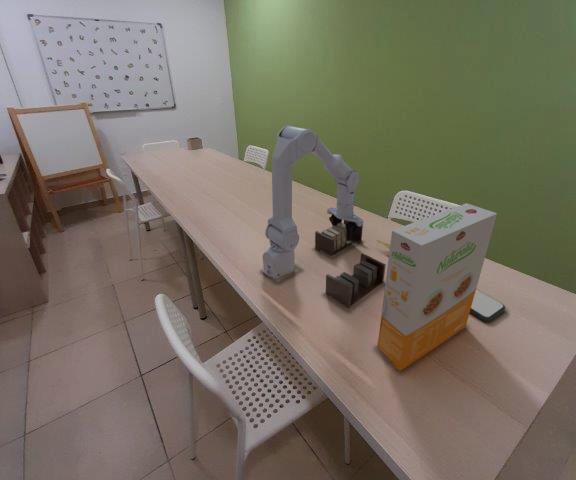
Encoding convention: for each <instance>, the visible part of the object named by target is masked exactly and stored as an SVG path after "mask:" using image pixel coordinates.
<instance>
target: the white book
mask: <svg viewBox="0 0 576 480" xmlns="http://www.w3.org/2000/svg"><path fill="white" fill-rule="evenodd" d="M337 226H338V227H340V228H343V229H345V230H346V227H345V224H344V222H340V223H338V224H337ZM345 243H346V244H348V243H350V241H347V230H346V235H345Z"/></svg>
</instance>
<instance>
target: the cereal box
mask: <svg viewBox="0 0 576 480" xmlns="http://www.w3.org/2000/svg"><path fill="white" fill-rule="evenodd" d="M497 216H498V213H497V212H494V211H492V210H488V209H486V208H482V207H479V206H477V205H473V204H470V203H467V202H465V203H463V204H461V205H457V206H455V207H452V208H449V209H447V210H444V211H441V212H439V213H436V214H433V215H430V216H427V217H425V218H422V219H420V220H417V221H414V222H411V223H409V224H406V225H403V226H400V227H398V228H394V229H392V230H391V236H390V243H389V244H390V249H389V252H388V261H387V268H386V269H387V270H386V276H385V284H384V292H383V300H382V306H381V307H382V309H381V316H380V317H381V318H380V324H379V332H378V339H377V348H378V349H379V350H380V351H381V352H382V353H383V354H385V355H386V356H387V357H388V358H389V359H390V364H391V365H392V366H393V367H394V368H395V369H396V370H397V371H398V372H402V371H403V370H404V369H406V368H407V367H408V366H410V365H411V364H413V363H415V362H416V361H418V360H419V359H420V358H422V357H424V356H425V355H426V354H429V352H431V351H432V350H434V349H435V348H437V347H439V346H440V345H441V344H443V343H444V342H446V341H447V340H448V339H450V338H451V337H453V336H454V335H456V334H458V333H459V332H461V331H462V330H463V329H465V328H466V327H467V323H468V320H469V316H470V314H471V313H470V309H471V306H472V302H473V298H474V295H475V291H476V289H477V287H478V284H479V280H480V277H481V273H482V270H483V266H484V262H485V258H486V255H487V252H488V248H489V245H490V241H491V239H492V234H493V231H494V228H495V223H496V220H497Z"/></svg>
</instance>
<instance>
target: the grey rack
mask: <svg viewBox="0 0 576 480" xmlns="http://www.w3.org/2000/svg"><path fill="white" fill-rule="evenodd" d="M359 259H360V260H359V263H355V264H354V265H353V273H352V275H351V274H349V273H347V272H345V271H343V272H341V273H340V274H339V275H337V276H335V277H334V276H332V275H331V274H329V273H327V274H326V275H325V294H326V295H327V296H328V297H331V298H332V299H333V300H335V301H337V302H338V303H339V304H341V305H342V306H343V307H346V308H347V309H350V307H352V306H353V305H355V304H356V303H358V302H359V301H360V300H362V299H363V298H364V297H366V296H367V295H368V294H370V293H371V292H372V291H374V290H375V289H377V288H378V287H379V286H381V284H383V283H384V282H385V274H386V273H385V272H386V266H387V264H386V263H383V262H381V261H380V260H377V259H375V258H373V257H372V256H369V255H367V254H365V253H363V252H362V253H360V257H359Z"/></svg>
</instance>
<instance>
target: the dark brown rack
mask: <svg viewBox="0 0 576 480" xmlns="http://www.w3.org/2000/svg"><path fill="white" fill-rule="evenodd" d="M347 223H349V221H347V220H343V224H347ZM363 228H364V224H363V225H362V226H360V227H359V226H358V227H357V229H356V231H355V233H354V235H353V238H352V240H350V243H348V244H346V243H345V235H346V230H345V229H343V228H340V227H338V226H336V225H334V226H332V225H331V227H328V228H326V229H323V230H322V231H321V232H320V231H318V230H316V231H315V233H314V234H315V235H314V250H315V251H317V252H323V253H325V254H326V255H329V256H330V257H333V256H335V255H337V254H339V253H341V252H342V251H345V250H347V249H348V248H350V247H351V246H353V245H355V244H360V243H362V241H363V240H362V238H363Z"/></svg>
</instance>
